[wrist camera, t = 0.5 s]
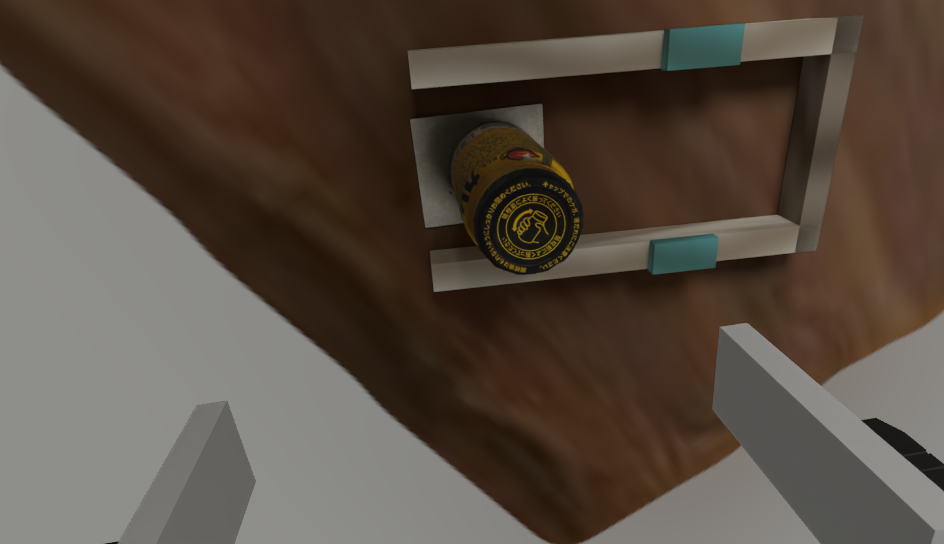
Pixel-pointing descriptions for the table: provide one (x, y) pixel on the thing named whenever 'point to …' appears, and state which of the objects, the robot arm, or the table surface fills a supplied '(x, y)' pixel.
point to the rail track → (671, 49)
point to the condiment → (498, 186)
